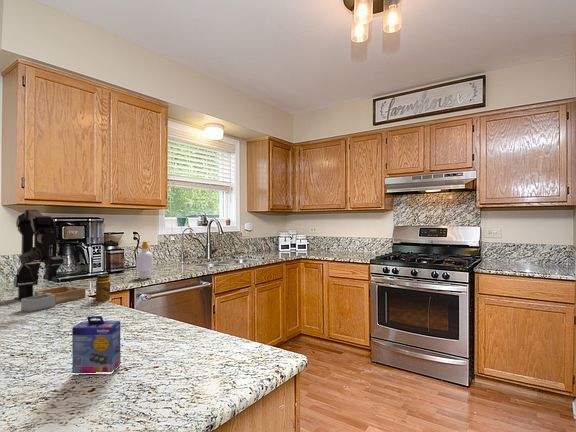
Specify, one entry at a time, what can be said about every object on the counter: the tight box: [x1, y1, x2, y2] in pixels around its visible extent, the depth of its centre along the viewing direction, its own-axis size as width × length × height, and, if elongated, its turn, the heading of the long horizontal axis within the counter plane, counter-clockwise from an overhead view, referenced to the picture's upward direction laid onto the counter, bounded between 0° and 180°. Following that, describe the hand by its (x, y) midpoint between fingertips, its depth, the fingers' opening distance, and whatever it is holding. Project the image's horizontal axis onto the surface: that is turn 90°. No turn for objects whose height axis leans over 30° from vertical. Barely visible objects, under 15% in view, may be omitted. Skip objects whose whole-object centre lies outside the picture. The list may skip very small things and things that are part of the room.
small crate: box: [20, 294, 56, 313], centre depth 147 cm, size 10×6×5 cm, turn 156°
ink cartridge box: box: [71, 315, 122, 374], centre depth 86 cm, size 10×6×14 cm, turn 95°
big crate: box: [33, 285, 86, 305], centre depth 164 cm, size 15×15×4 cm
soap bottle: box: [135, 241, 154, 280], centre depth 222 cm, size 10×10×24 cm
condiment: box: [90, 274, 112, 304], centre depth 162 cm, size 7×8×12 cm
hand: (42, 280), depth 148 cm, fingers open, 9 cm apart
